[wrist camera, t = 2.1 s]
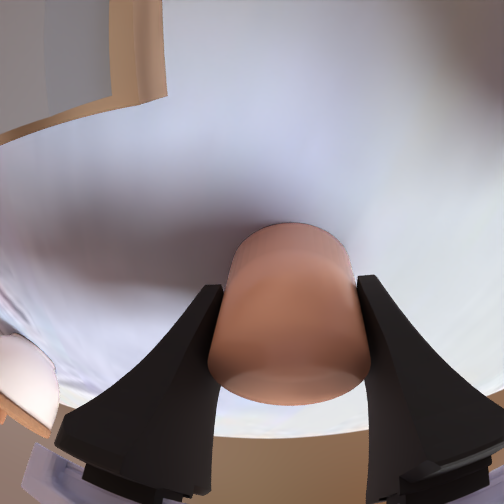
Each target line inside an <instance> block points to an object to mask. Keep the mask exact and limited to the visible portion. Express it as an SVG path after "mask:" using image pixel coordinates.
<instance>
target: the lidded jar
mask: <svg viewBox="0 0 504 504" xmlns="http://www.w3.org/2000/svg"><path fill="white" fill-rule="evenodd" d="M59 400H60V390H59V384H58V379H57V376H56V373H55V365H54V363H53V362H52V361H51V359H50V358H49V357H48V356H47V355H46V354H45V353H44V352H43V351H42V350H40V349H39V348H38V347H37V346H36V345H35V344H33V343H32V342H31V341H29V340H28V339H26V338H25V337H23V336H21V335H19V334H17V333H12V334H11V335H2V336H0V424H2V425H3V423H4V421H5V418H6V416H7V415H9V416H10V417H11V418H13V419H14V420H16V421H17V422H18V423H20V424H21V425H23V426H25V427H26V428H28V429H29V430H31V431H33V432H34V433H36V434H38V435H40V436H42V437H44V438H49V436H50V434H51V431H50V430H51V428H52V425H53V423H54V420H55V417H56V414H57V410H58V406H59Z"/></svg>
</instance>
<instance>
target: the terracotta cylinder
mask: <svg viewBox="0 0 504 504" xmlns="http://www.w3.org/2000/svg"><path fill="white" fill-rule="evenodd" d="M207 364H208V369H209V371H210V374H211V375H212V377H213V378H214V379H215V380H216V381H217V382H218V383H219V384H220V385H221V386H222V387H224V388H225V389H227V390H228V391H230V392H232V393H234V394H236V395H238V396H240V397H243V398H246V399H249V400H252V401H256V402H260V403H265V404H272V405H284V406H295V405H307V404H314V403H319V402H323V401H327V400H330V399H334V398H336V397H339V396H341V395H343V394H345V393H347V392H349V391H351V390H352V389H354V388H355V387H356V386H358V385H359V384H360V383H361V382H362V381H363V380H364V379H365V377H366V376H367V374H368V372H369V370H370V366H371V357H370V352H369V346H368V340H367V335H366V330H365V325H364V320H363V315H362V310H361V305H360V301H359V296H358V292H357V288H356V283H355V279H354V275H353V271H352V267H351V263H350V259H349V256H348V254H347V252H346V250H345V248H344V246H343V245H342V244H341V243H340V242H339V241H338V240H337V239H336V238H335V237H334V236H333V235H331V234H330V233H328V232H326V231H324V230H322V229H320V228H318V227H315V226H312V225H307V224H302V223H281V224H275V225H271V226H268V227H265V228H263V229H260V230H258V231H257V232H255V233H253V234H252V235H250V236H249V237H248V238H246V239H245V240H244V241H243V242H242V243H241V245H240V246H239V247H238V249H237V251H236V252H235V254H234V257H233V260H232V264H231V268H230V272H229V275H228V279H227V283H226V287H225V291H224V295H223V299H222V303H221V307H220V311H219V315H218V319H217V323H216V327H215V331H214V335H213V339H212V343H211V347H210V351H209V355H208V362H207Z"/></svg>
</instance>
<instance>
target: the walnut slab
mask: <svg viewBox="0 0 504 504" xmlns="http://www.w3.org/2000/svg"><path fill="white" fill-rule="evenodd" d="M109 58H110V76H111V89H112V96H109V97H106V98H102V99H99V100H96V101H93V102H89V103H86V104H83V105H80V106H77V107H75V108H72V109H69V110H66V111H64V112H61V113H58V114H56V115H53V116H51V117H48V118H44V119H41V120H38V121H35V122H32V123H29V124H26V125H23V126H21V127H18V128H15V129H12V130H10V131H7V132H5V133H2V134H0V145H3V144H5V143H8V142H10V141H12V140H15V139H18V138H20V137H23V136H25V135H28V134H31V133H34V132H36V131H39V130H42V129H45V128H48V127H51V126H54V125H58V124H61V123H64V122H68V121H71V120H75V119H78V118H82V117H86V116H90V115H94V114H98V113H102V112H106V111H111V110H115V109H120V108H125V107H130V106H136V105H141V104H144V103H147V102H150V101H153V100H156V99H159V98H162V97H166V96H168V95H167V84H166V71H165V57H164V40H163V17H162V0H109Z"/></svg>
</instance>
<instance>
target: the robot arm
mask: <svg viewBox="0 0 504 504" xmlns="http://www.w3.org/2000/svg"><path fill="white" fill-rule="evenodd" d="M357 292H358V296H359V301H360V305H361V310H362V315H363V320H364V325H365V330H366V335H367V340H368V346H369V352H370V357H371V366H370V370H369V372H368V374H367V376H366V377H365V379H364V381H365V386H366V392H367V400H368V416H369V464H368V479H367V480H368V481H367V490H366V504H374V503H379V502H385V501H387V504H504V465H503V466H501V467H499V468H497V469H495V470H492V471H491V472H490V473H489V471H488V466H490V465H491V464H492V459H491V455H492V454H494V453H496V452H497V451H499V450H500V449H502V448H504V409H503V408H502V407H500V406H499V405H497V404H496V403H494V402H493V401H491V400H490V399H489V398H487V397H486V396H484V395H483V394H482V393H481V392H479V391H478V390H477V389H475V388H474V387H473V386H472V385H471V384H469V383H468V382H467V381H466V380H465V379H464V378H463V377H461V376H460V375H459V374H458V373H457V372H456V371H455V370H453V369H452V368H451V367H450V366H449V365H448V364H447V363H446V362H445V361H444V360H443V359H442V358H441V357H440V356H439V355H438V354H437V353H436V352H435V350H434V349H433V348H432V347H431V346H430V345H429V344H428V343H427V342H426V341H425V339H424V338H423V337H422V336H421V335H420V334H419V332H418V331H417V330H416V329H415V328H414V326H413V325H412V324H411V323H410V321H409V320H408V319H407V318H406V316H405V315H404V314H403V312H402V311H401V310H400V309H399V307H398V306H397V305H396V303H395V302H394V300H393V299H392V298H391V296H390V295H389V294H388V292H387V291H386V289H385V288H384V287H383V285H382V284H381V282H380V281H379V279H378V278H377V277H376V276H375V275H364V276H358V279H357ZM223 295H224V292H223V289H222V286H221V284H218V285H205V286H204V287H203V288H202V290H201V291H200V292H199V293H198V295H197V296H196V297H195V299H194V300H193V301H192V303H191V304H190V305H189V307H188V308H187V309H186V310H185V312H184V313H183V314H182V316H181V317H180V318H179V319H178V321H177V322H176V323H175V324H174V326H173V327H172V328H171V329H170V330H169V332H168V333H167V334H166V335H165V336H164V337H163V338H162V340H161V341H160V342H159V343H158V344H157V345H156V346H155V347H154V349H153V350H152V351H151V352H150V353H149V354H148V355H147V356H146V357H145V358H144V359H143V360H142V361H141V362H140V363H139V364H137V365H136V366H135V367H134V368H133V369H132V370H131V371H130V372H128V373H127V374H126V375H125V376H124V377H122V378H121V379H120V380H119V381H117V382H116V383H115V384H114V385H112V386H111V387H110V388H108V389H107V390H106V391H104V392H103V393H101V394H100V395H98V396H97V397H95V398H94V399H92V400H91V401H89V402H87V403H86V404H84V405H82V406H80V407H79V408H77V409H75V410H74V411H72V412H70V413H68V414H66V415H65V416H64V419H63V421H62V424H61V427H60V429H59V432H58V434H57V437H56V440H55V442H54V444H55V446H56V447H57V448H59V449H61V450H63V451H64V452H66V453H68V454H70V455H72V456H73V457H75V458H77V459H79V460H81V461H83V462H85V463H86V466H85V468H83V467H81V466H79V465H77V464H75V463H73V462H71V461H69V460H67V459H65V458H63V457H61V456H59V455H58V454H56V453H54V452H52V451H50V450H49V449H47V448H45V447H44V446H42V445H40V444H39V443H35V445H34V447H33V450H32V453H31V456H30V459H29V462H28V465H27V468H26V471H25V474H24V477H23V481H22V484H21V487H22V488H23V489H24V490H25V491H26V492H28V493H29V494H30V495H31V496H33V497H34V498H35V499H36V500H37V501H39V502H40V503H41V504H186V503H182V498H183V497H186V498H190V499H191V498H192V496H193V494H196V495H202V496H204V495H206V494H208V493H209V492H210V491H211V464H212V447H213V435H214V425H215V416H216V408H217V401H218V396H219V392H220V387H221V385H220V384H219V383H218V382H217V381H216V380H215V379H214V378H213V377H212V375H211V374H210V371H209V369H208V364H207V362H208V355H209V351H210V347H211V343H212V339H213V335H214V331H215V327H216V323H217V319H218V315H219V311H220V307H221V303H222V299H223Z"/></svg>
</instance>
